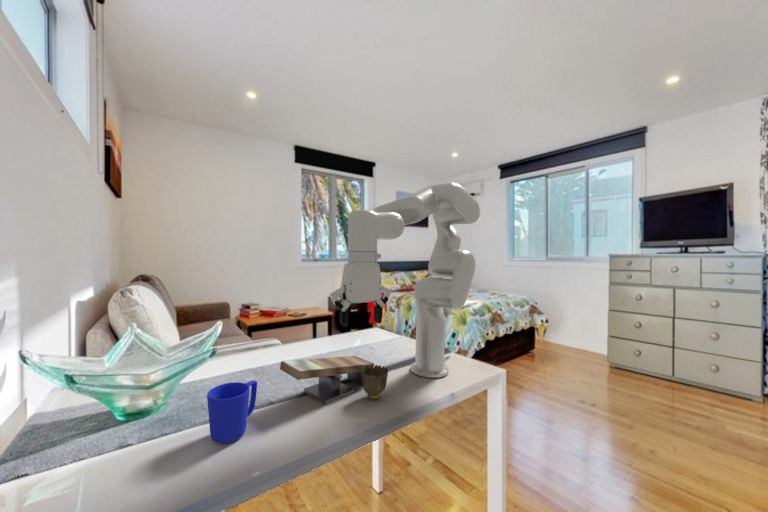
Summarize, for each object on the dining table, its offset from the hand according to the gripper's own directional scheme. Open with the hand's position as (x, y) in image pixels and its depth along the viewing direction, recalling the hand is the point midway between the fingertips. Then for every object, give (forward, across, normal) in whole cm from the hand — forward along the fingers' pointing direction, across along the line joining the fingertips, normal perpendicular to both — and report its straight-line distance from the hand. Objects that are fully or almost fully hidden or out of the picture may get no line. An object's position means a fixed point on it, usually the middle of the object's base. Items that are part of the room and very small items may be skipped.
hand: (361, 323), depth 83 cm
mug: (+21, +30, -2) cm, 37 cm away
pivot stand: (+21, +1, -11) cm, 24 cm away
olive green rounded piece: (+22, -5, -1) cm, 22 cm away
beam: (+15, +5, -10) cm, 19 cm away
